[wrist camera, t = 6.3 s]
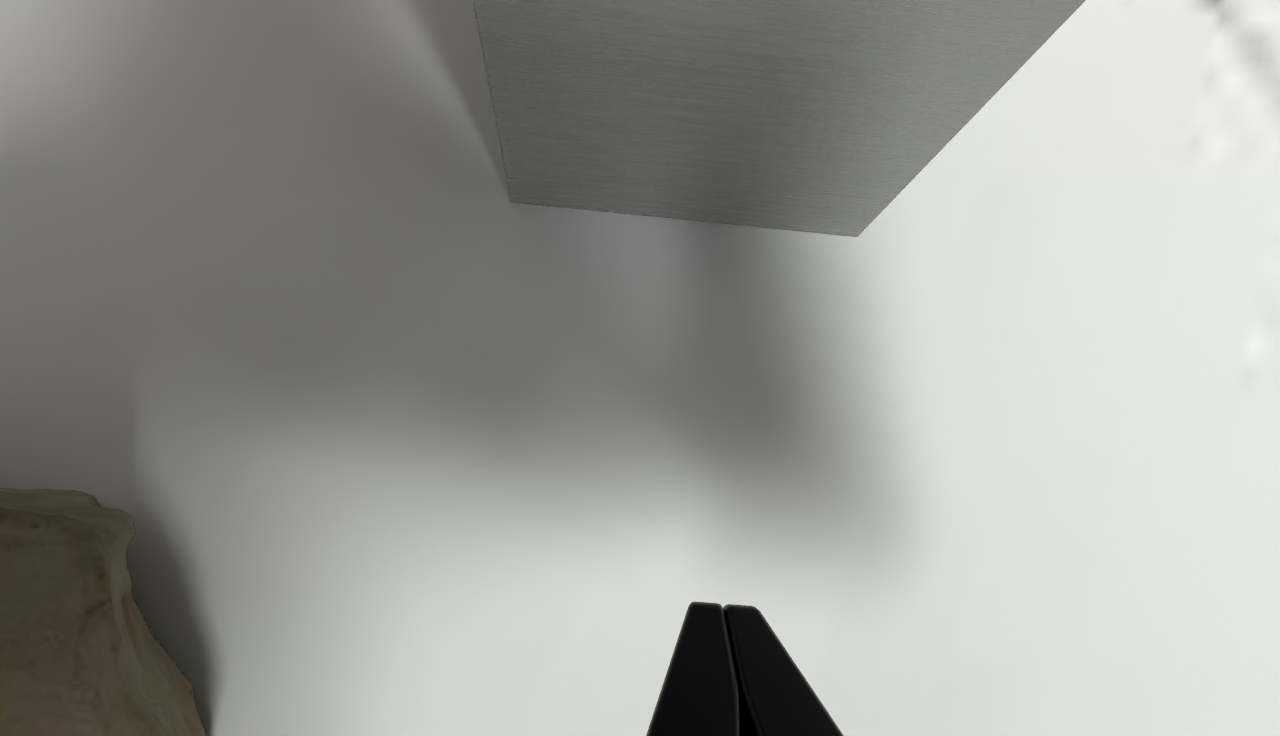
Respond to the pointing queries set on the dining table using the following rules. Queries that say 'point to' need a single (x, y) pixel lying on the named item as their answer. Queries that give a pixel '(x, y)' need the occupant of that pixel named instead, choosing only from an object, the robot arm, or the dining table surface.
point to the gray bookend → (743, 100)
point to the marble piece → (79, 627)
